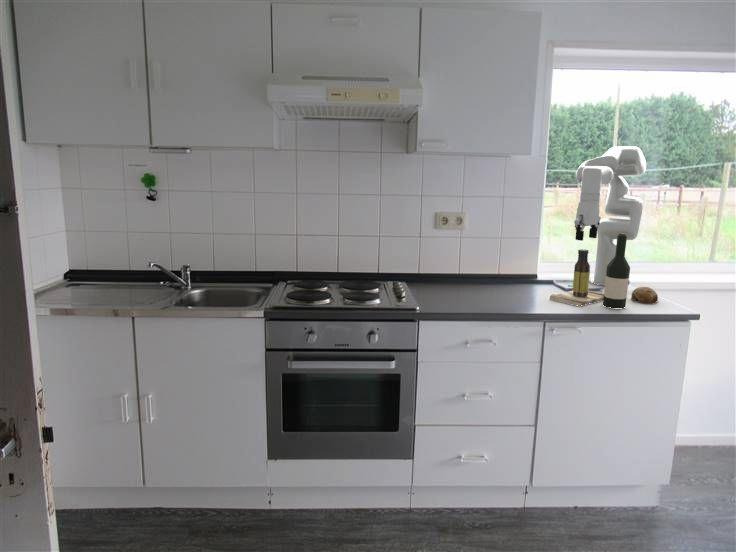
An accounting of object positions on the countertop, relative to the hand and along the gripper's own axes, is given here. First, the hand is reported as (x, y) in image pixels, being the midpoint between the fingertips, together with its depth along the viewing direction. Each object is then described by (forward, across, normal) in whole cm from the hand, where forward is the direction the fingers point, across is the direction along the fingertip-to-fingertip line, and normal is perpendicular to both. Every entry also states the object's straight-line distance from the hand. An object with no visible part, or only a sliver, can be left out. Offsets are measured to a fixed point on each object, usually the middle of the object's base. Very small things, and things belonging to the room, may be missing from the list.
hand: (586, 239), depth 212 cm
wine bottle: (+26, 0, +15) cm, 30 cm away
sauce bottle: (+25, +1, 0) cm, 25 cm away
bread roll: (+27, -20, +17) cm, 37 cm away
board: (+26, +1, 0) cm, 26 cm away
